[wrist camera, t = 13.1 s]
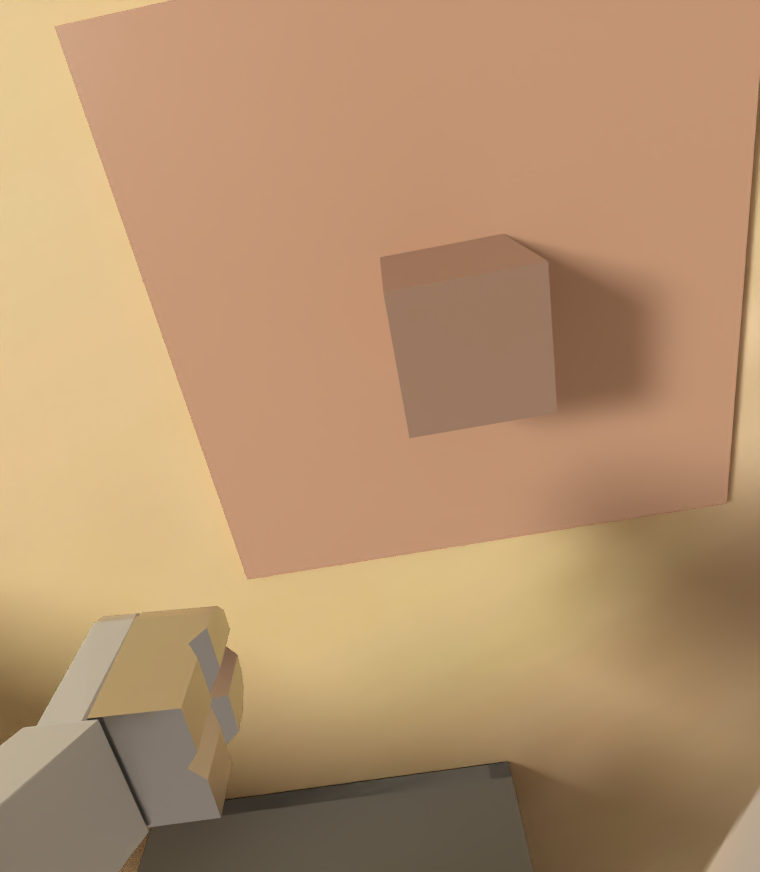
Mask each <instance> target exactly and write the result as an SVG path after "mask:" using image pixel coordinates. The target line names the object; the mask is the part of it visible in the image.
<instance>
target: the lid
mask: <svg viewBox="0 0 760 872" xmlns="http://www.w3.org/2000/svg"><path fill="white" fill-rule="evenodd" d="M55 29H56V32H57V35H58V38H59V41H60V44H61V47H62V49H63V52H64V55H65V58H66V61H67V64H68V67H69V70H70V72H71V75H72V78H73V81H74V84H75V87H76V90H77V92H78V95H79V98H80V101H81V104H82V107H83V110H84V112H85V115H86V118H87V121H88V124H89V127H90V130H91V133H92V135H93V138H94V141H95V144H96V147H97V150H98V153H99V155H100V158H101V161H102V164H103V167H104V170H105V173H106V176H107V178H108V181H109V184H110V187H111V190H112V193H113V196H114V198H115V201H116V204H117V207H118V210H119V213H120V216H121V219H122V221H123V224H124V227H125V230H126V233H127V236H128V239H129V241H130V244H131V247H132V250H133V253H134V256H135V259H136V261H137V264H138V267H139V270H140V273H141V276H142V279H143V282H144V284H145V287H146V290H147V293H148V296H149V299H150V302H151V304H152V307H153V310H154V313H155V316H156V319H157V322H158V325H159V327H160V330H161V333H162V336H163V339H164V342H165V345H166V347H167V350H168V353H169V356H170V359H171V362H172V365H173V368H174V370H175V373H176V376H177V379H178V382H179V385H180V388H181V390H182V393H183V396H184V399H185V402H186V405H187V408H188V410H189V413H190V416H191V419H192V422H193V425H194V428H195V431H196V433H197V436H198V439H199V442H200V445H201V448H202V451H203V453H204V456H205V459H206V462H207V465H208V468H209V471H210V474H211V476H212V479H213V482H214V485H215V488H216V491H217V494H218V496H219V499H220V502H221V505H222V508H223V511H224V514H225V517H226V519H227V522H228V525H229V528H230V531H231V534H232V537H233V539H234V542H235V545H236V548H237V551H238V554H239V557H240V559H241V562H242V565H243V568H244V571H245V574H246V577H247V580H248V579H254V578H260V577H267V576H273V575H279V574H285V573H292V572H298V571H304V570H311V569H317V568H323V567H329V566H336V565H342V564H348V563H355V562H361V561H367V560H373V559H380V558H386V557H392V556H398V555H405V554H411V553H417V552H424V551H430V550H436V549H442V548H449V547H455V546H461V545H468V544H474V543H480V542H486V541H493V540H499V539H505V538H512V537H518V536H524V535H530V534H537V533H543V532H549V531H556V530H562V529H568V528H574V527H581V526H587V525H593V524H600V523H606V522H612V521H618V520H625V519H631V518H637V517H644V516H650V515H656V514H662V513H669V512H675V511H681V510H688V509H694V508H700V507H706V506H713V505H719V504H725V503H727V493H728V480H729V467H730V454H731V442H732V429H733V416H734V403H735V390H736V377H737V364H738V351H739V338H740V325H741V312H742V300H743V287H744V274H745V261H746V248H747V235H748V222H749V209H750V196H751V183H752V171H753V158H754V145H755V132H756V119H757V106H758V93H759V80H760V0H171V1H166V2H162V3H157V4H153V5H148V6H144V7H140V8H135V9H131V10H126V11H122V12H117V13H113V14H108V15H104V16H99V17H95V18H91V19H86V20H82V21H77V22H73V23H68V24H64V25H59V26H55Z"/></svg>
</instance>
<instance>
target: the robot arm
mask: <svg viewBox="0 0 760 872" xmlns="http://www.w3.org/2000/svg"><path fill="white" fill-rule="evenodd" d="M229 631H230V628H229V625H228V622H227V619H226V616H225V613H224V610H223V609H221V608H220V607H218V606H212V607H200V608H189V609H177V610H165V611H153V612H142V613H141V614H126V615H114V616H104V617H102V618H101V619H99V620H98V621H96V622H95V623H94V624H93V626H92V627H91V629H90V631H89V633H88V634H87V636H86V638H85V640H84V642H83V643H82V645H81V647H80V649H79V651H78V652H77V654H76V656H75V658H74V659H73V661H72V663H71V665H70V667H69V668H68V670H67V672H66V674H65V676H64V677H63V679H62V681H61V683H60V684H59V686H58V688H57V690H56V692H55V693H54V695H53V697H52V699H51V701H50V702H49V704H48V706H47V708H46V709H45V711H44V713H43V715H42V717H41V718H40V720H39V722H38V724H37V726H31V727H23V728H22V729H21V730H19V731H18V732H17V733H15V734H14V735H13V736H12V737H10V738H9V739H8V740H7V741H5V742H4V743H3V744H2V745H0V872H119V871H120V869H121V868H122V867H123V865H124V864H125V863H126V861H127V860H128V859H129V857H130V856H131V855H132V854H133V852H134V851H135V850H136V848H137V847H138V846H139V844H140V843H141V842H142V840H143V839H144V838H145V836H146V835H147V834H148V827H155V826H163V825H170V824H178V823H185V822H193V821H200V820H208V819H215V818H221V815H222V810H223V806H224V801H225V796H226V791H227V786H228V782H229V777H230V772H231V767H232V762H231V758H230V755H229V752H228V749H227V746H226V745H227V744H228V743H229V741H230V740H231V739H232V738H233V737H234V736H235V735H236V734H237V733H238V731H239V728H240V722H241V717H242V711H243V679H242V671H241V667H240V663H239V659H238V655H237V654H235V653H234V652H233V651H231V650H230V649H229V648H227V647H226V643H227V639H228V635H229Z"/></svg>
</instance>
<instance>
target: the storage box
mask: <svg viewBox="0 0 760 872" xmlns="http://www.w3.org/2000/svg"><path fill="white" fill-rule="evenodd" d="M137 872H534V871H533V866H532V862H531V858H530V853H529V849H528V845H527V840H526V836H525V832H524V827H523V823H522V818H521V814H520V810H519V805H518V801H517V797H516V792H515V788H514V783H513V779H512V775H511V770H510V766H509V762H504V763H496V764H489V765H482V766H474V767H467V768H460V769H452V770H445V771H438V772H430V773H423V774H416V775H408V776H401V777H393V778H386V779H379V780H371V781H364V782H357V783H349V784H342V785H335V786H327V787H320V788H313V789H305V790H298V791H290V792H283V793H276V794H268V795H261V796H254V797H246V798H239V799H232V800H225V801H224V806H223V810H222V815H221V818H215V819H208V820H200V821H193V822H185V823H178V824H170V825H163V826H155V827H151V830H150V833H149V837H148V840H147V843H146V846H145V849H144V852H143V855H142V858H141V861H140V864H139V868H138V871H137Z"/></svg>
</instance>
